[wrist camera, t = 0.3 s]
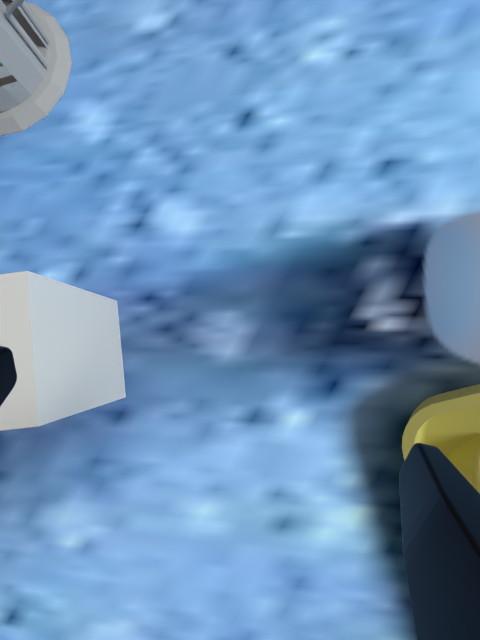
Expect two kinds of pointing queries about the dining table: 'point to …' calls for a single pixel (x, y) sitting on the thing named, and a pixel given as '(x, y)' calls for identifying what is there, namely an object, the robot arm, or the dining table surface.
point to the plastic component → (449, 429)
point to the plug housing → (58, 349)
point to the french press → (30, 64)
